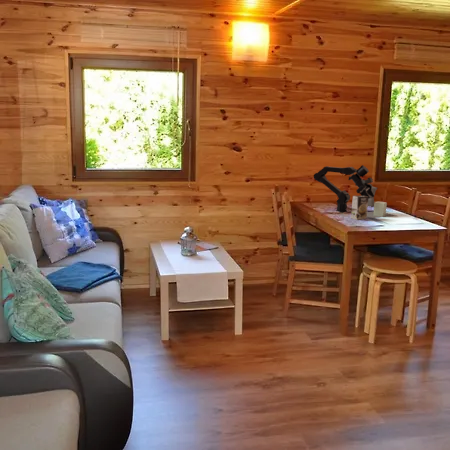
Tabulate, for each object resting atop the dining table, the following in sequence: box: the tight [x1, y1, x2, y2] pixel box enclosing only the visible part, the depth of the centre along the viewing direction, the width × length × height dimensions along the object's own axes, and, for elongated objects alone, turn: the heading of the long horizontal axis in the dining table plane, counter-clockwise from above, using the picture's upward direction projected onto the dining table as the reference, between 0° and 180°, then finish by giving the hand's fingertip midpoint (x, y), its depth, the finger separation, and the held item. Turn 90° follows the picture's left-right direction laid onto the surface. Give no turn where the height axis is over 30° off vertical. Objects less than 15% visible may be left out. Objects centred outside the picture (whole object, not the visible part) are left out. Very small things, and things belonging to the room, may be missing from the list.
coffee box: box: [350, 195, 368, 221], centre depth 364 cm, size 9×6×16 cm
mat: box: [367, 211, 397, 219], centre depth 382 cm, size 24×20×1 cm
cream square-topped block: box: [373, 201, 388, 218], centre depth 377 cm, size 7×7×10 cm
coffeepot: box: [360, 183, 379, 208], centre depth 421 cm, size 15×9×18 cm, turn 103°
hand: (371, 197), depth 379 cm, fingers open, 9 cm apart
